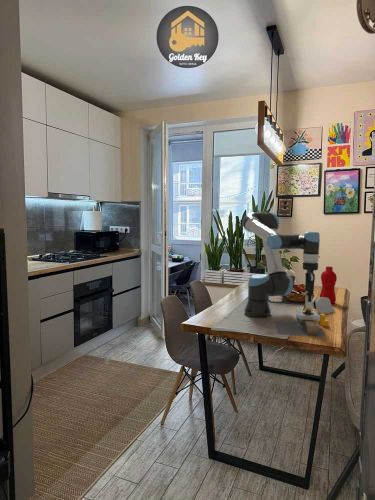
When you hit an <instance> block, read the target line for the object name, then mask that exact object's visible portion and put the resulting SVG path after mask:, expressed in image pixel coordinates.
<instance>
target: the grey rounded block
mask: <svg viewBox="0 0 375 500" xmlns="http://www.w3.org/2000/svg"><path fill="white" fill-rule="evenodd" d="M332 305H333V304H331V302H330V300H329V298H326V297H321V298H320V297H318V298H315V299H313V300H312V309H316V310H317V313H318V314H325V315H326V314H331V313H334V312H335V307H333V306H332Z"/></svg>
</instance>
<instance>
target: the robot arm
mask: <svg viewBox="0 0 375 500" xmlns="http://www.w3.org/2000/svg"><path fill="white" fill-rule="evenodd" d="M241 223H242V227H243V228H244V230H245V231H247V232H249V233H253V234H254V235H256V236H257V237H259V238H260V239H262V245H263V249H264V254H265V255H264V256H265V260H266V264H267V270H268V273H267V274H266V273H257V274H253V275H250V276H249V278H248V283H247V285H248V286H247V287H248V288H247V289H248V291H247V302H246V305H245V308H244V315H245V316H248V317H252V318H263V319H265V318H267V317H270V316H271V315H272V312H271V308H270V304H269V297H283V296H288V295H290V294H291V292H292V291H293V287H294V280H293V278H292V277H291V276H290V275H288V273H287V271H286V270H284V267H283V264H282V258H281V253H280V250H303V253H302V261H303V263H302V270H304V271H305V270H306V272H305V277H304V278H305V281H304V282H305V283H304V285H305V286H304V292H305V291H307V294H305V298H304V299H305V301H304V302H305V303H304V306H305V305H306V308H311V309H313V307H312V302H313V296H314V290H315V279H316V276H315V275H316V274H315V273H314V271H318V270H319V259H320V258H321V256H320V255H319V254H320V243H321V242H320V241H321V240H320V232H317V231H305V232H304V233H303V234H280V233H279V232H278V229H279V228H280V220H279V217H278V215H277V214H276V213H274V212H256V211H255V212H249V213H247V214H246V215H245V216H244V217H243V218H242V221H241ZM306 295H307V299H306Z"/></svg>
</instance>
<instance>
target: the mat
mask: <svg viewBox="0 0 375 500" xmlns="http://www.w3.org/2000/svg"><path fill="white" fill-rule="evenodd" d="M274 323H275V326H276V330H277V333H278V335H286V336H287V335H288V336H302V337H313V338H315V337H317V338H327V336H326V334H324V332H323V330H322V329H321V328H320V330H318V336H314V335H307V334H306V329H299V328H298V326H297V324H296V321H289V320H274Z"/></svg>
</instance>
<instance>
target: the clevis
mask: <svg viewBox="0 0 375 500" xmlns="http://www.w3.org/2000/svg"><path fill="white" fill-rule="evenodd" d="M295 311H296V312H295V315H296V316H295V322H296V324H297V326H298V328H299V329H306V334H307V335H314V336H318V330H320V329H321V327H320V325H318V323H317V320H318V321H320V316H319V313H317V312H316V311H311V315H305V310H303V309H296V310H295Z"/></svg>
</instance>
